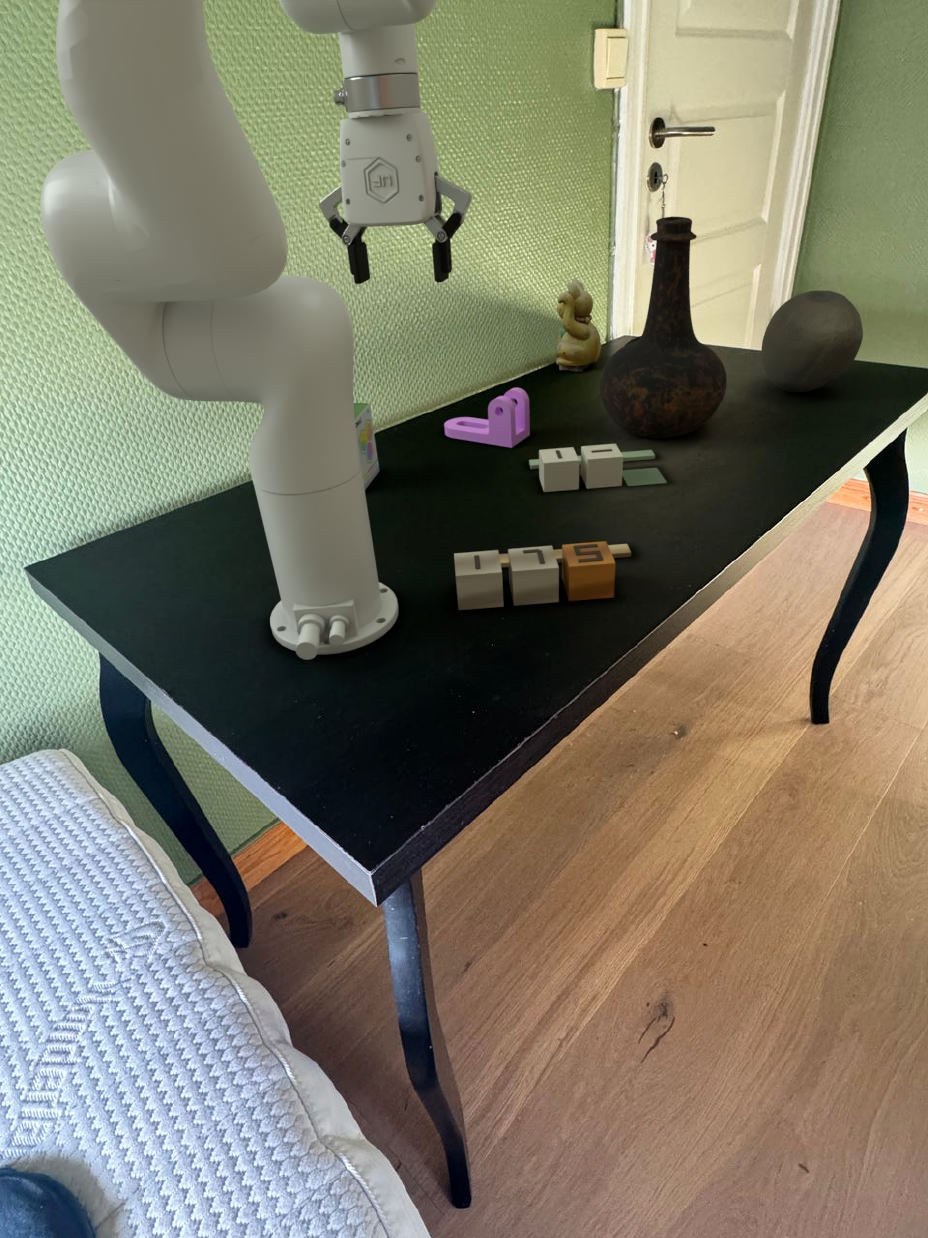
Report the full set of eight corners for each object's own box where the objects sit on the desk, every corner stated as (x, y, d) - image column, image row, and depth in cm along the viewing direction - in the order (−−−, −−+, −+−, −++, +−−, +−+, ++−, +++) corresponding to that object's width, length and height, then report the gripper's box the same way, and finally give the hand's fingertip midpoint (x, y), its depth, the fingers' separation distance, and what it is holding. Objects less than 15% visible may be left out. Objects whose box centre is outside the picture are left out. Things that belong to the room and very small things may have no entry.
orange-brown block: (613, 597, 76) (615, 561, 73) (568, 601, 76) (569, 565, 73) (604, 574, 79) (606, 540, 77) (561, 578, 79) (562, 543, 77)
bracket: (529, 434, 115) (528, 388, 111) (511, 447, 111) (510, 400, 107) (457, 423, 121) (454, 379, 117) (437, 435, 117) (433, 390, 113)
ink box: (365, 492, 101) (350, 392, 94) (337, 492, 102) (319, 392, 94) (380, 471, 107) (367, 375, 99) (353, 471, 107) (338, 375, 100)
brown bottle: (679, 401, 123) (696, 204, 107) (747, 436, 108) (779, 215, 93) (577, 420, 119) (581, 218, 103) (634, 459, 104) (648, 232, 89)
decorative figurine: (560, 359, 147) (560, 275, 139) (603, 359, 145) (606, 274, 137) (552, 373, 140) (551, 286, 131) (597, 374, 138) (600, 285, 129)
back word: (670, 482, 97) (673, 452, 95) (538, 493, 97) (537, 463, 95) (651, 453, 105) (653, 424, 103) (529, 463, 105) (528, 435, 103)
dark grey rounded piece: (751, 402, 120) (766, 301, 111) (759, 376, 130) (773, 282, 122) (850, 408, 115) (873, 303, 106) (849, 380, 125) (870, 282, 117)
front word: (648, 594, 76) (651, 558, 73) (458, 610, 76) (455, 574, 73) (626, 548, 84) (628, 514, 82) (455, 562, 84) (452, 529, 82)
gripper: (290, 106, 77) (318, 288, 86) (453, 91, 72) (465, 286, 81) (322, 106, 83) (345, 276, 92) (475, 92, 78) (483, 273, 87)
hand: (401, 280), depth 87 cm, fingers open, 9 cm apart
